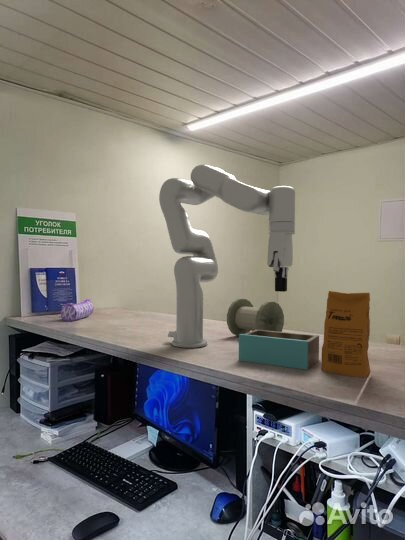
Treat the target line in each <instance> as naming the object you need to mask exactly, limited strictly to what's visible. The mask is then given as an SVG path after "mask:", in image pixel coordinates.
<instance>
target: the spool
mask: <svg viewBox="0 0 405 540" xmlns="http://www.w3.org/2000/svg"><path fill="white" fill-rule="evenodd" d="M226 325H227V328H228V330H229V332H230V333H231V334H232V335H234V336H236V337H239V334H245V333H248V332H251V331H254V330H266V331H276V332H283V329H284V325H285V316H284V310H283V308H282V307H281V305H280V304H279V303H277V302H275V301H265V302H264V303H263V304H261V305H260V307H254V305H253V304H252V303H251V301H250V300H248V299H246V298H237V299H235V300H234V301H232V302H231V304H230V305H229V307H228V309H227V313H226Z"/></svg>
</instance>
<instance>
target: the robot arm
mask: <svg viewBox="0 0 405 540" xmlns="http://www.w3.org/2000/svg"><path fill="white" fill-rule="evenodd" d="M215 197H216V198H218V199H220V200H221V201H222V202H224V203H226V204H227V205H230V206H232V207H233V208H235V209H238V210H240V211H242V212H244V213H245V212H246V213H252V214H255V215H256V214H257V215H261V216H268V235H269V237H268V246H267V261H266V262H267V263H266V264H267V267H269V268H272V270H273V272H274V291H275V292H283V293H285V292H287V291H288V273H289V269H290V268H291V267H292V265H293V254H294V253H293V247H294V246H293V235H295V234H296V232H295V229H296V228H295V227H296V226H295V225H296V223H295V222H296V191H295V189H294V187H292V186H287V185H281V186H280V185H279V186H274V187H272V188H271V189H270V190H267V189H262V188H259V187H254V186H252V185H248V184H246V183H243V182H241V181H239V180H237V179H236V176H234V175H233V174H231V173H228V172H225V171H224V170H223V169H221V168H219V167H215V166H212V165H208V164H198V165H196V166H194V167H193V169H192V171H191V173H190V180H187V179H184V178H179V177H175V178H174V177H172V178H168V179H167V180H165V181H164V182H163V183H162V184H161V187H160V190H159V194H158V201H159V205H160V208H161V212H162V214H163V217H164V219H165V223H166V227H167V232H168V236H169V241H170V244H171V248H172V249H173V251H174V252H175V253H177V254H178V255H179V254H180V255H186V256H181V257H180V258H179V259H177V260H176V262H175V264H174V266H173V267H174V268H173V275H174V281H175V287H176V326H175V331H173V330H172V331H170V330H169V331H168V334H167V337H168V338H173V340H172V341H171V345H172V346H174V347H177V348H184V349H185V348H187V349H189V348H190V349H192V348H193V349H195V348H202V347H206V346H207V345H208V341H207V340H206V339H204V291H203V289H202V287H201V283H209V282H213V281H214V280H215V279H216V278H217V276H218V273H219V267H218V265H219V264H218V262H217V257H216V254H215V250H214V246H213V243H212V240H211V237H210V236H209V235H208V233H207V232H206V231H204V230H202V229H197V228H193V227H192V225H191V221H190V218H189V217H190V216H189V214H188V213H187V211H186V209H185V208H184V207H183V205H182V204H186V205H191V206H198V205H202V204H204V203H205V202H207V201H209V200H210V199H213V198H215Z"/></svg>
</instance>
